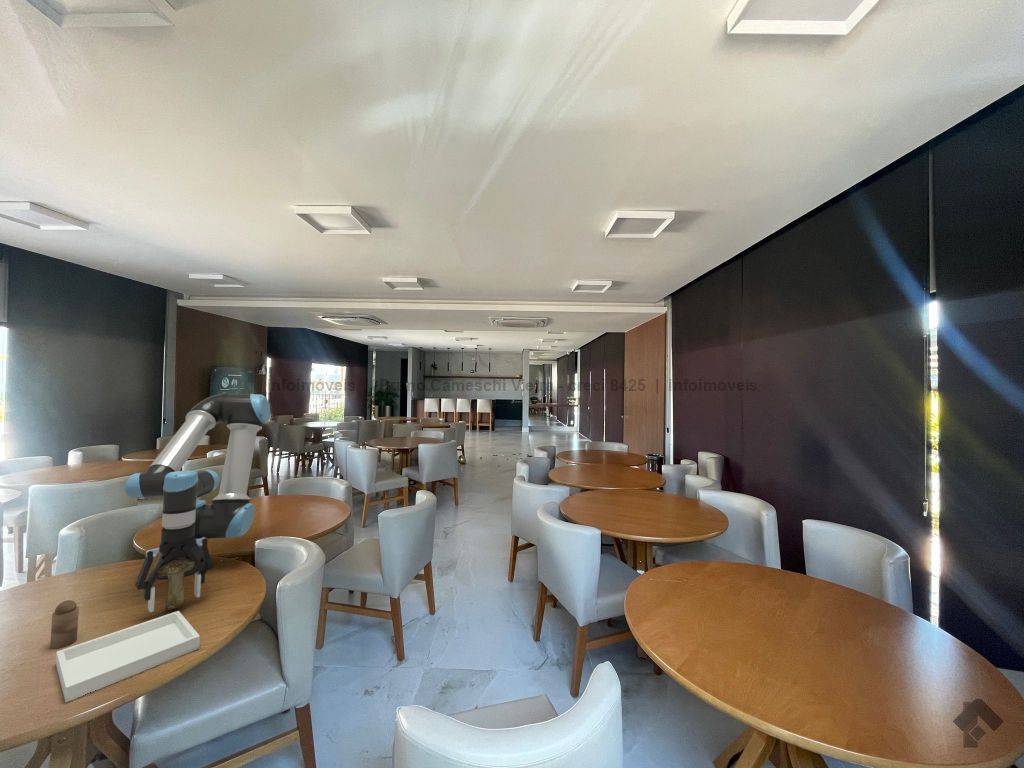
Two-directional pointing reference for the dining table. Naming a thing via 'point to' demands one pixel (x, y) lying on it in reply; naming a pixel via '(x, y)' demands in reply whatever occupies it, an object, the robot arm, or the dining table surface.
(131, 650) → the tray
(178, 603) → the mushroom
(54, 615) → the pepper mill
